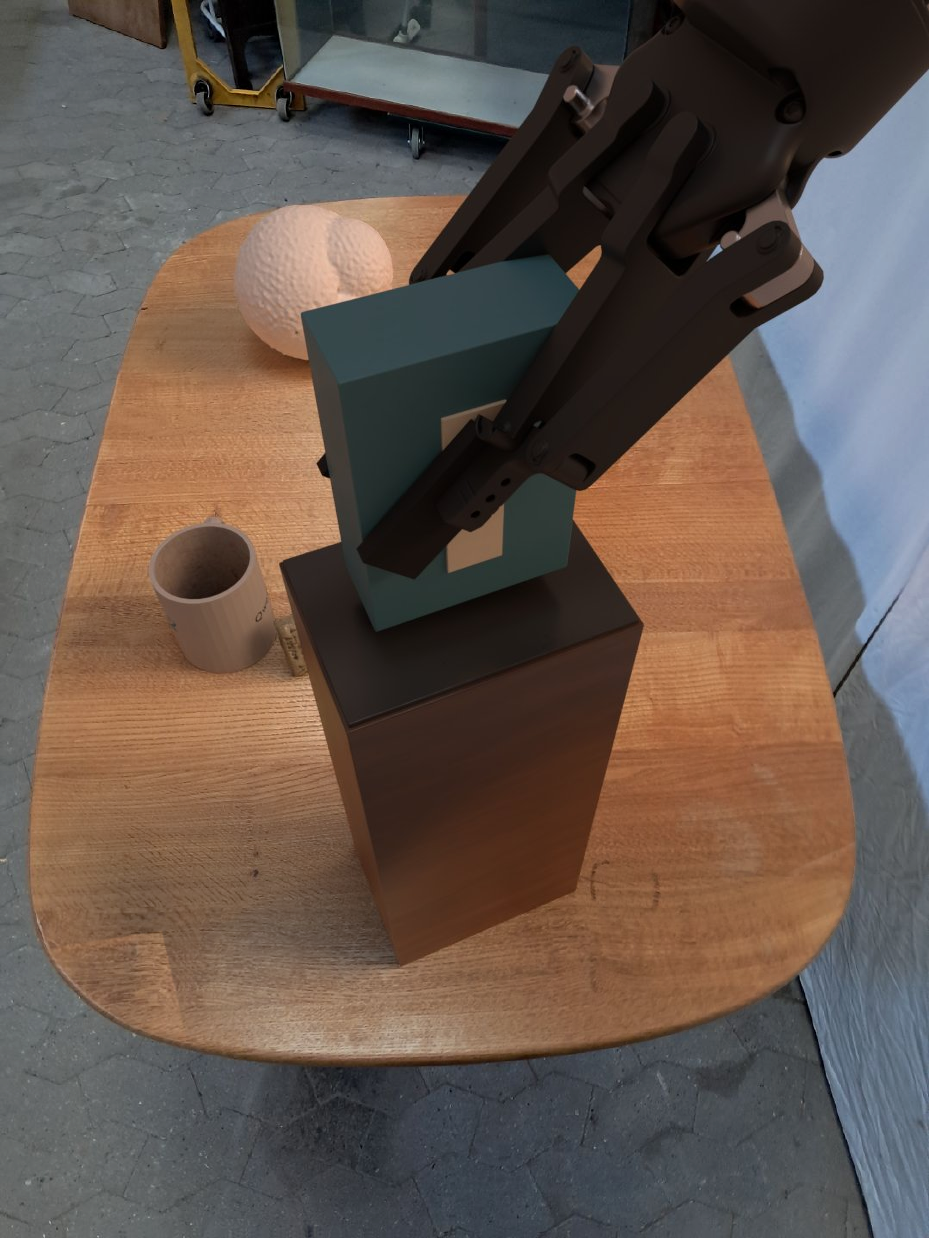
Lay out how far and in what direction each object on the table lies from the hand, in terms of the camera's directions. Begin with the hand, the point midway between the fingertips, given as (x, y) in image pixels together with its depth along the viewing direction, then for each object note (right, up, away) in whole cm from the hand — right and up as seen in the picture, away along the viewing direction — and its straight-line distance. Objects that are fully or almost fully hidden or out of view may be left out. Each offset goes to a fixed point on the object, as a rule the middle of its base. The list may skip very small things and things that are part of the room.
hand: (365, 519), depth 35 cm
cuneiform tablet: (-6, -7, +45) cm, 46 cm away
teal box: (+4, -2, +5) cm, 6 cm away
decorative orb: (-13, +28, +71) cm, 78 cm away
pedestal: (+4, -23, +33) cm, 40 cm away
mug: (-17, -4, +48) cm, 51 cm away
